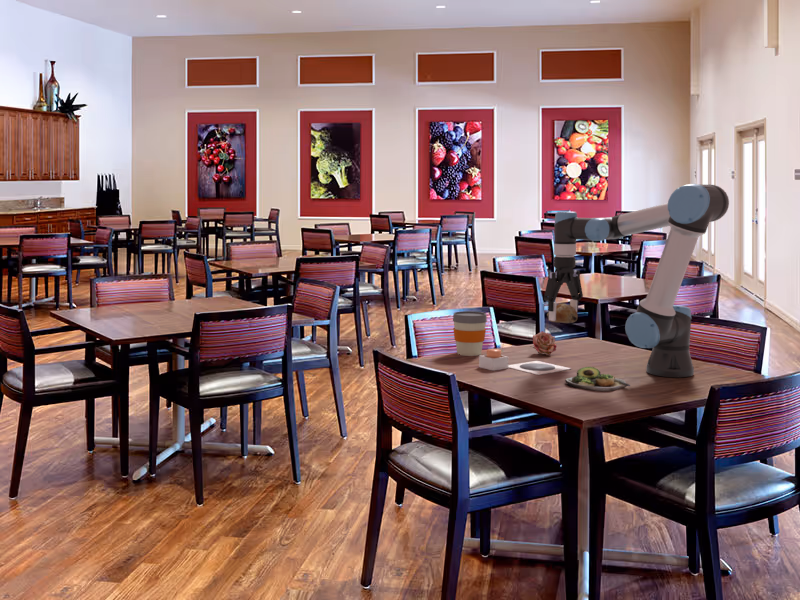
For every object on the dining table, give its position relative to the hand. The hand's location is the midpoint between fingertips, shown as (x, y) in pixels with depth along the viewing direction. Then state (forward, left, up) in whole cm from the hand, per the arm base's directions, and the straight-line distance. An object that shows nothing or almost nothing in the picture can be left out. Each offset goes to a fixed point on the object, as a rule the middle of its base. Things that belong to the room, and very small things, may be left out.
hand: (562, 319), depth 302 cm
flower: (-6, -14, -16) cm, 22 cm away
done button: (+26, -7, -12) cm, 30 cm away
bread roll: (0, 0, -1) cm, 1 cm away
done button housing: (+26, -7, -15) cm, 31 cm away
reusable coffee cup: (+16, -31, -16) cm, 38 cm away
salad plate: (+17, +30, -16) cm, 38 cm away
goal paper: (+14, +2, -15) cm, 21 cm away
